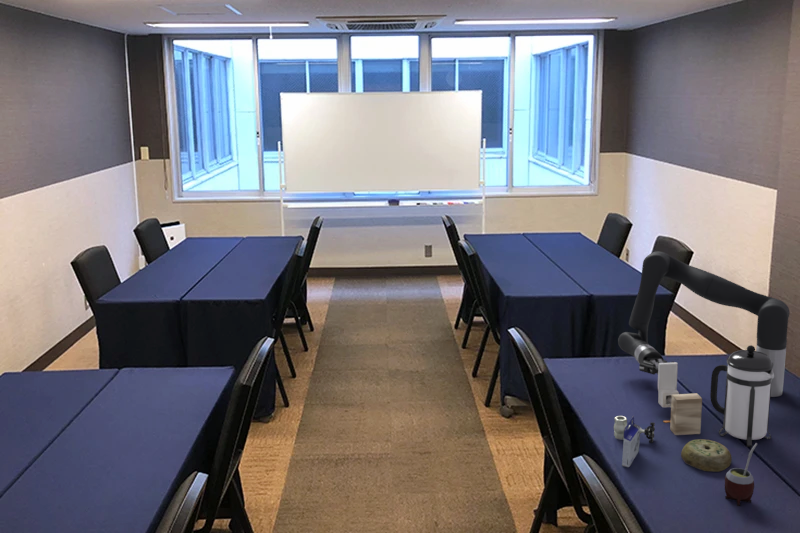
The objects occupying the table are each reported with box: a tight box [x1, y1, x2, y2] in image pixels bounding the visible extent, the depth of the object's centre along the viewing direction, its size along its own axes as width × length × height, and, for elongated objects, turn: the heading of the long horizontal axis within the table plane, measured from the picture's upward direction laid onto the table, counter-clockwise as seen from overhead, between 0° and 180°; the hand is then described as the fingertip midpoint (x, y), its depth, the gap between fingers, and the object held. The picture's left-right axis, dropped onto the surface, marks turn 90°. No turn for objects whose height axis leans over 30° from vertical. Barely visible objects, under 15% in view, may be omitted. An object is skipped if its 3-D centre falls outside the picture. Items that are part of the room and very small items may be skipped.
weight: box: [680, 438, 733, 473], centre depth 213 cm, size 14×14×5 cm
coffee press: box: [709, 345, 774, 448], centre depth 224 cm, size 17×16×30 cm
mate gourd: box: [724, 442, 758, 507], centre depth 191 cm, size 8×8×15 cm
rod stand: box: [657, 388, 703, 436], centre depth 239 cm, size 23×8×12 cm, turn 2°
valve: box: [613, 415, 656, 444], centre depth 228 cm, size 7×7×12 cm
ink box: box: [621, 415, 641, 468], centre depth 215 cm, size 12×2×12 cm, turn 148°
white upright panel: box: [657, 361, 680, 408], centre depth 243 cm, size 4×6×14 cm, turn 92°
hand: (666, 375), depth 244 cm, fingers closed
